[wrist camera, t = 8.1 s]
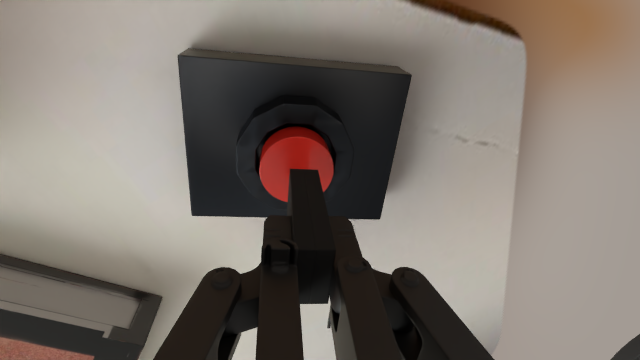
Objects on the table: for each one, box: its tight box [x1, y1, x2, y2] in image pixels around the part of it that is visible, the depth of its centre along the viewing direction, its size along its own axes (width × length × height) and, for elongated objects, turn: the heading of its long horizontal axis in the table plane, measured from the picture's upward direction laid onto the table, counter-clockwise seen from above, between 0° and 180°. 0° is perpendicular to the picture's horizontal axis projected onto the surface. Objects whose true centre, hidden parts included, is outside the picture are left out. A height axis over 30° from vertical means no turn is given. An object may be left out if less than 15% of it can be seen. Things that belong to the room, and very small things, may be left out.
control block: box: [178, 48, 412, 219], centre depth 24 cm, size 14×11×4 cm
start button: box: [259, 126, 334, 202], centre depth 21 cm, size 4×4×2 cm
